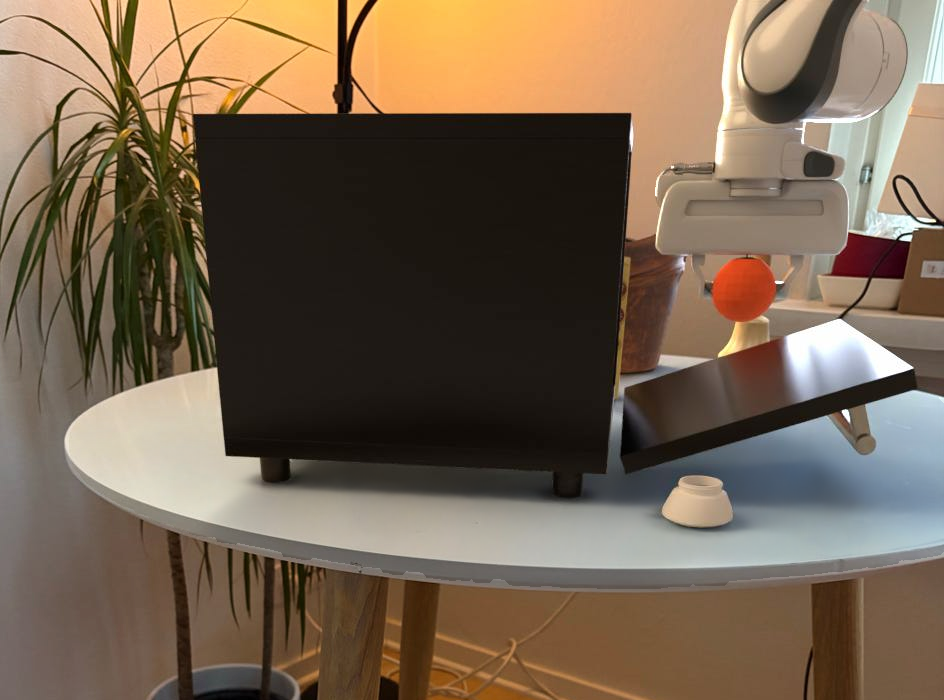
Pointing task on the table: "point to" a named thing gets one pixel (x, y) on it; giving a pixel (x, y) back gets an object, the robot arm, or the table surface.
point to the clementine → (744, 289)
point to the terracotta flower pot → (648, 302)
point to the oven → (417, 287)
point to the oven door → (762, 395)
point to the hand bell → (749, 328)
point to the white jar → (698, 503)
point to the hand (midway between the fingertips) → (742, 298)
